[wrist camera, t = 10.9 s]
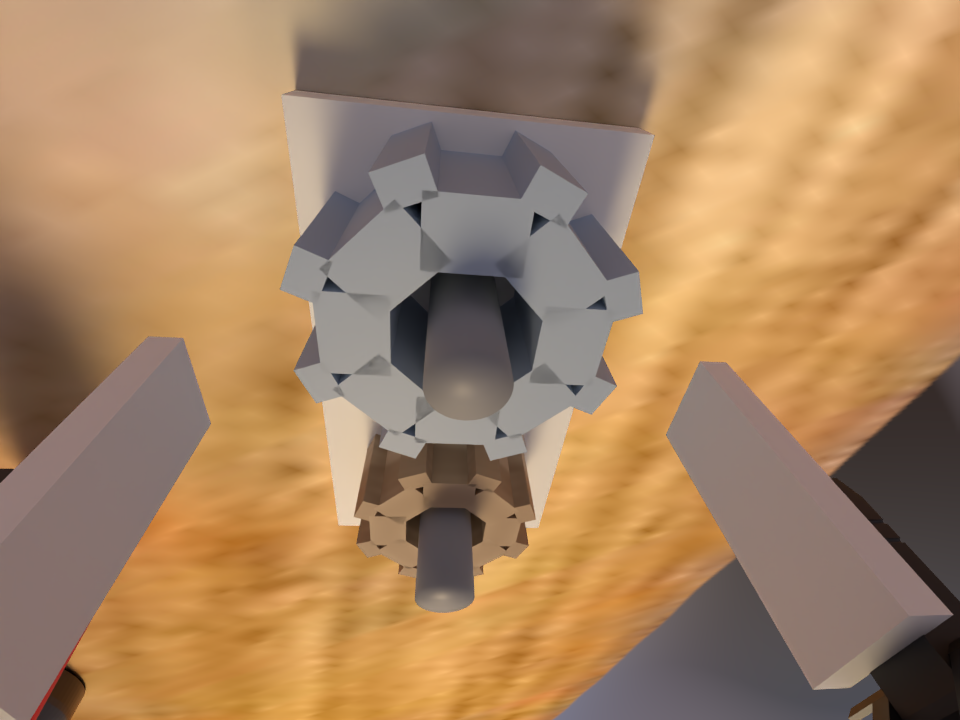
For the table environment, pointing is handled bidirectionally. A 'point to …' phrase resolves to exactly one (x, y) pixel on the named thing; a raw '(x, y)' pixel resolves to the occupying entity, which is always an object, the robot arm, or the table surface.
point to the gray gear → (461, 250)
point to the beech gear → (442, 500)
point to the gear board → (345, 170)
